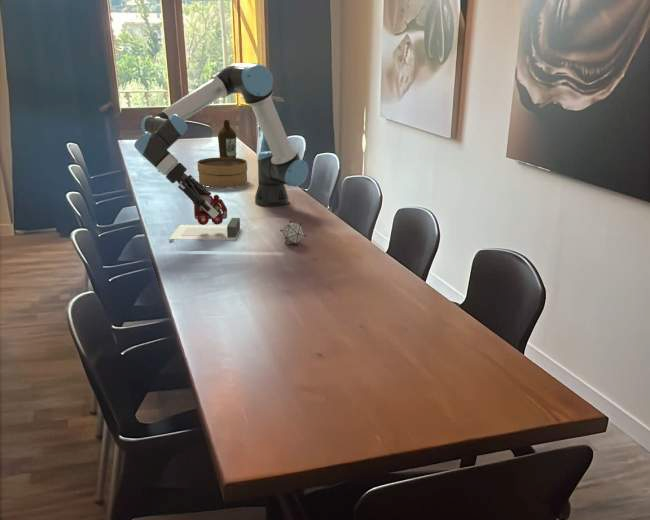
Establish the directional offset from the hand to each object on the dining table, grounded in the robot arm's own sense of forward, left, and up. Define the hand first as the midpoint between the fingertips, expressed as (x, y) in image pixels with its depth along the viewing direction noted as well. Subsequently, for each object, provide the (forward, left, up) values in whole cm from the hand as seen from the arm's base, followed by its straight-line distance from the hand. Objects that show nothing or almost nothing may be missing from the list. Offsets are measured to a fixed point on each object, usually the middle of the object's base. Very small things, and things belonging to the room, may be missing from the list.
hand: (218, 213), depth 231 cm
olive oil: (+19, -142, -9) cm, 144 cm away
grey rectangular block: (-5, 0, -8) cm, 9 cm away
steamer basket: (+13, -88, -9) cm, 90 cm away
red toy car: (+3, 0, -4) cm, 5 cm away
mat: (+5, 0, -9) cm, 10 cm away
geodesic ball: (-28, +9, -9) cm, 31 cm away
